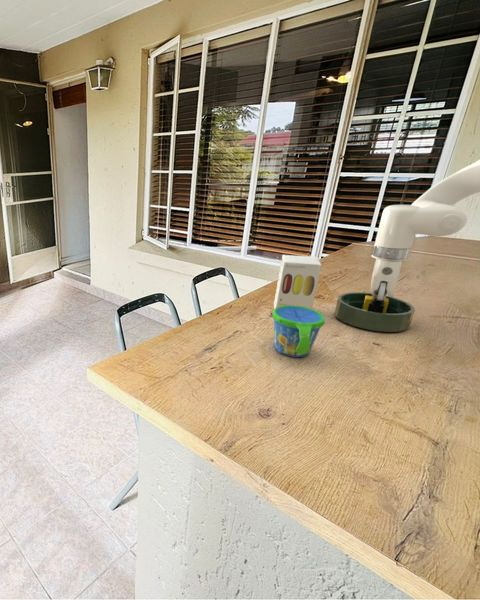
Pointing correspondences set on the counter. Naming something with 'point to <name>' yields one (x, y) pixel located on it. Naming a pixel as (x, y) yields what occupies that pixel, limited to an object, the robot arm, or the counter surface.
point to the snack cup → (296, 329)
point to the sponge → (368, 300)
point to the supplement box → (297, 281)
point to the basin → (374, 313)
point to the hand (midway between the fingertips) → (373, 314)
